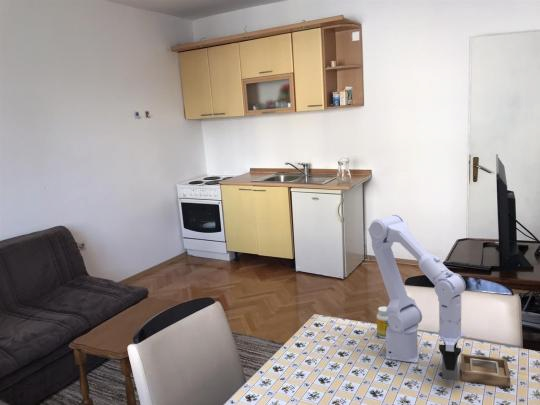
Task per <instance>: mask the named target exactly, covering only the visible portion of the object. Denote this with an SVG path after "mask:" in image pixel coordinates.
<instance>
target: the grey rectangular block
mask: <svg viewBox="0 0 540 405" xmlns="http://www.w3.org/2000/svg"><path fill="white" fill-rule="evenodd" d="M458 359H459V357H458V358H457V361H456V366H455V369H454V371H451V370H446V368H445V364H444V359H443V356H442V355H441V364H442V366H441V379H444V380H449V381H457V382H458V378H459V377H458V369H459V367H458V362H459V361H458Z"/></svg>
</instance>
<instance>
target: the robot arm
mask: <svg viewBox="0 0 540 405" xmlns="http://www.w3.org/2000/svg"><path fill="white" fill-rule="evenodd" d="M367 231H368V233H369V236H370V239H371V247H372V250H373V254H374V257H375V259H376V262H377V267H378V270H379V271H380V275H381V277H382V280H383V284H384V286H385V289H386V292H387V296H388V299H389V302H388V305H387V306H386V307H387V309H386V311H387V314H388V324H389V326H388V327H387V329H386V338H385V359H386V360H393V361H400V362H405V363H407V362H409V363H412V364H413V363H414V364H418V363H419V358H420V352H421V349H420V348H418V328H419V324H420V323H421V322H422V321H423V314H422V310H421V309H420V308H419V306H418V305H417V303H416V300H415V299H414V298H412V297H410V296H408V293H407V290H406V287H405V284H404V281H403V279H402V275H401V273H400V270H399V267H398V263H397V261H396V259H395V255H394V252H393V249H392V246H393V244H394V243H399V244H400V245H401V246H402V247H404V249H406V251H407V252H408V253H409V254H411V255H412V256H413V257H414V258H415V259H416V260H417V261H418V268H419V270H420V271H421V272H422V274H424V275H425V276H426V277H427V278H428V279H429V281H430V282H431V283H432V284H433V285H434V288H433V289H434V292H435V294H436V295H437V299H438V300H437V301H438V313H439V314H438V319H439V320H438V322H439V323H438V328H439V329H438V336H439V337H440V339H441V340H442V342H443V344H441V343H439V344H438V350H439V352H440V354H441V357H442V356H443V359H444V364H445V368H446V370H451V371H454V369H455V366H456V361H457V358H458V359H459V357H460V355H461V354H462V353H461V352H462V348H461V347H457V346H458V343H459V341H460V340H461V339H462V338H463V339H464V338H466V337H467V334H466V332H464V331H462V293H464V291H465V290H466V282H465V280H464V278H463V277H462V275H461V274H459V273H454V272H453V271H451V270H450V269H449V268H448V267H446V265H445V264H444V263H443V261H441V258H440V257H439V256H436V255H435V254H434V253H433V254H432V253H428V252H427V250H426V249H425V248H424V247H423V245H422V244H420V242H419V241H418V240H417V238H416V237H415V236H414V234H413V233H412V232H411V231H410V229H409V225H408V223H407V222H406V221H405V220H404V219H403V217H402V216H400V214H399V215H398V214H392V215H390V216H387V217H382V218H378V219H374V220H373V221H372V222H371V223H370V226H369V227H368V230H367Z"/></svg>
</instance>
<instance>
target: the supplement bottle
mask: <svg viewBox="0 0 540 405" xmlns="http://www.w3.org/2000/svg"><path fill="white" fill-rule="evenodd" d="M387 307H388V306H380V307H379V306H378V308H377V310H378V311H377V314H376V333H377V334H376V335H377V336H378V338H379V337H380V338H381V339H386V329H387V327H388V326H389V324H388V314H387V311H386V309H387Z"/></svg>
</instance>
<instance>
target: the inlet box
mask: <svg viewBox="0 0 540 405" xmlns="http://www.w3.org/2000/svg"><path fill="white" fill-rule="evenodd" d="M460 370H461V371H460V372H461V374H460V376H461V382H464V383H471V384H472V383H473V384H477V385H478V384H479V385H486V386H491V387H492V386H493V387H497V388H498V387H499V388H506V389H511V375H510V370H509V365H508V359H506V358H502V357H493V356H492V357H491V356H485V355H476V354H468V353H460Z"/></svg>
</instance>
